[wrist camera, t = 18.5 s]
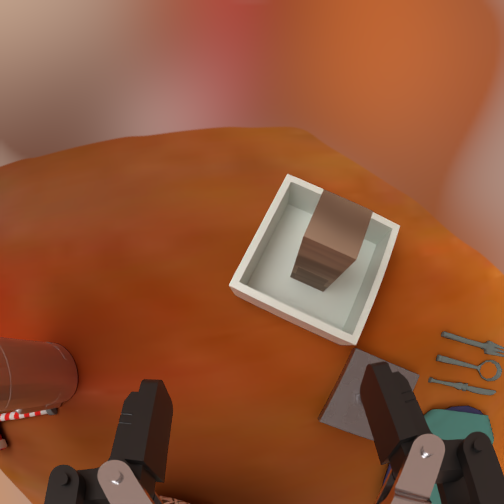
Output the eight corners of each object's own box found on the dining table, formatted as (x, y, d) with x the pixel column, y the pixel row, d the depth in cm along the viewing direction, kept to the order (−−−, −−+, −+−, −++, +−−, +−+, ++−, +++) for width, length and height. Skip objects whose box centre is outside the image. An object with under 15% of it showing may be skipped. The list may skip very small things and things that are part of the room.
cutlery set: (355, 516, 28) (359, 523, 26) (429, 324, 36) (437, 322, 34) (453, 514, 26) (460, 519, 23) (514, 350, 34) (522, 349, 32)
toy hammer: (46, 371, 36) (20, 371, 30) (71, 441, 33) (47, 451, 27) (-22, 390, 35) (-44, 391, 29) (-3, 447, 32) (-25, 452, 26)
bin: (340, 345, 36) (355, 345, 29) (235, 295, 38) (228, 285, 32) (380, 244, 39) (400, 225, 33) (284, 200, 42) (287, 173, 35)
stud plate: (382, 441, 32) (397, 453, 26) (317, 418, 33) (325, 429, 28) (414, 374, 34) (434, 377, 29) (352, 348, 36) (366, 348, 30)
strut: (323, 291, 37) (356, 259, 23) (289, 277, 38) (303, 236, 23) (336, 259, 38) (373, 211, 24) (304, 245, 39) (323, 189, 24)
